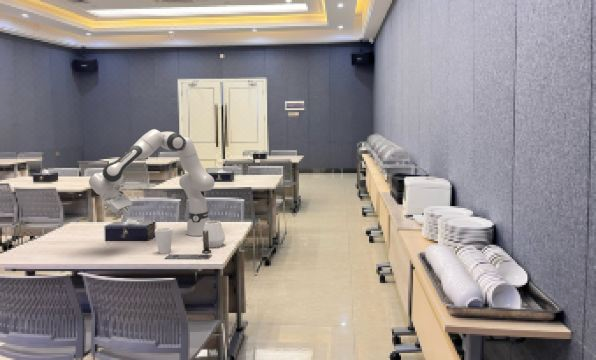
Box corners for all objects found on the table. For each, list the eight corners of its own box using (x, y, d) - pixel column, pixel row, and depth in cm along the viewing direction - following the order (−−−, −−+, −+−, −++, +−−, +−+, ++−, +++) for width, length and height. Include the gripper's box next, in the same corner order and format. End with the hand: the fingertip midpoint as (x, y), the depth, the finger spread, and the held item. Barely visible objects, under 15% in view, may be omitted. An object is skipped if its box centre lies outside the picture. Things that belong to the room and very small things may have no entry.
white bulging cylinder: (229, 243, 308) (228, 220, 307) (219, 249, 296) (218, 224, 294) (208, 242, 312) (207, 219, 310) (198, 248, 299) (197, 224, 298)
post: (203, 251, 292) (202, 230, 290) (212, 251, 291) (211, 230, 290) (200, 253, 287) (199, 232, 285) (209, 253, 286) (208, 232, 285)
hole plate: (169, 255, 285) (169, 254, 285) (212, 255, 282) (212, 254, 282) (164, 259, 278) (164, 257, 278) (208, 259, 275) (208, 257, 275)
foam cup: (159, 255, 285) (158, 232, 284) (153, 252, 293) (152, 229, 291) (176, 252, 291) (174, 229, 289) (169, 249, 298) (168, 226, 297)
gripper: (107, 195, 282) (125, 213, 282) (123, 191, 302) (140, 207, 302) (99, 204, 283) (117, 221, 283) (116, 198, 303) (133, 215, 303)
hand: (129, 214), depth 293 cm, fingers closed
